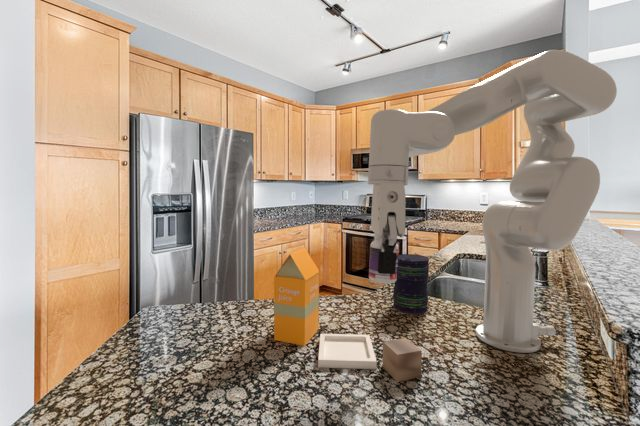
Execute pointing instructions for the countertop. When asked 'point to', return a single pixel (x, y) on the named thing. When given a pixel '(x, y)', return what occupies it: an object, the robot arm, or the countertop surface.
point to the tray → (346, 351)
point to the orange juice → (296, 299)
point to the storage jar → (411, 284)
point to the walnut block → (402, 359)
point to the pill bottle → (374, 263)
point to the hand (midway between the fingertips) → (383, 268)
